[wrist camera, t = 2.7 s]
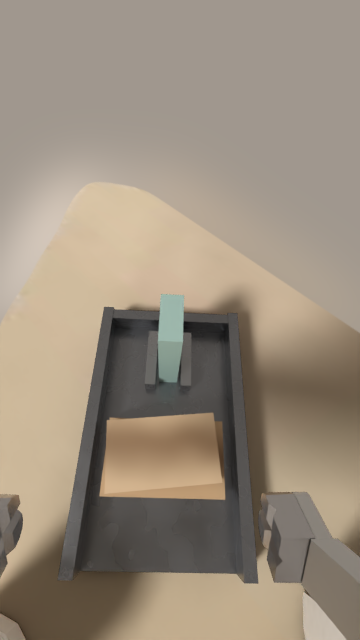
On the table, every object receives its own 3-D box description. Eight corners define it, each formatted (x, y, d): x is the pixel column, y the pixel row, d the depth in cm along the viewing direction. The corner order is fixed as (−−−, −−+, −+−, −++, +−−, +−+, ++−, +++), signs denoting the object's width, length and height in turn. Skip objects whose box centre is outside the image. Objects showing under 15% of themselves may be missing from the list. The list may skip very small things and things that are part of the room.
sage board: (176, 382, 30) (182, 341, 21) (159, 381, 30) (157, 340, 21) (177, 346, 32) (183, 295, 23) (161, 345, 32) (161, 294, 23)
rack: (246, 571, 24) (258, 583, 21) (70, 568, 23) (57, 580, 20) (230, 327, 34) (237, 313, 32) (109, 321, 34) (104, 306, 31)
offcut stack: (221, 498, 26) (230, 501, 22) (103, 495, 25) (94, 497, 22) (218, 421, 29) (226, 413, 25) (113, 417, 28) (106, 408, 25)
